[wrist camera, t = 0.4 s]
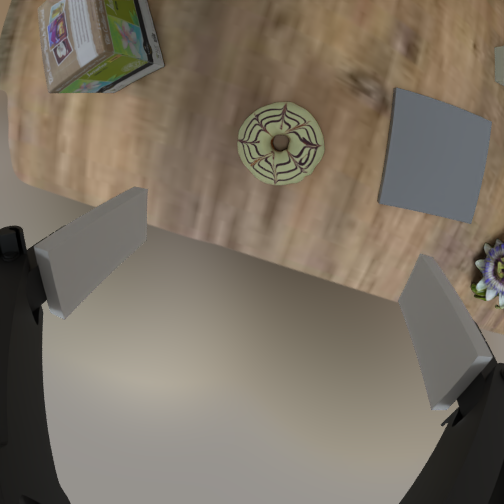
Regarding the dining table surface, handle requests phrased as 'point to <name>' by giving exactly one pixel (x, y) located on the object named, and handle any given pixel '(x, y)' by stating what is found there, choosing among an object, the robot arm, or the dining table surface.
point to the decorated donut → (299, 148)
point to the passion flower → (491, 274)
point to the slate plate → (434, 157)
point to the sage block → (499, 65)
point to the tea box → (97, 44)
